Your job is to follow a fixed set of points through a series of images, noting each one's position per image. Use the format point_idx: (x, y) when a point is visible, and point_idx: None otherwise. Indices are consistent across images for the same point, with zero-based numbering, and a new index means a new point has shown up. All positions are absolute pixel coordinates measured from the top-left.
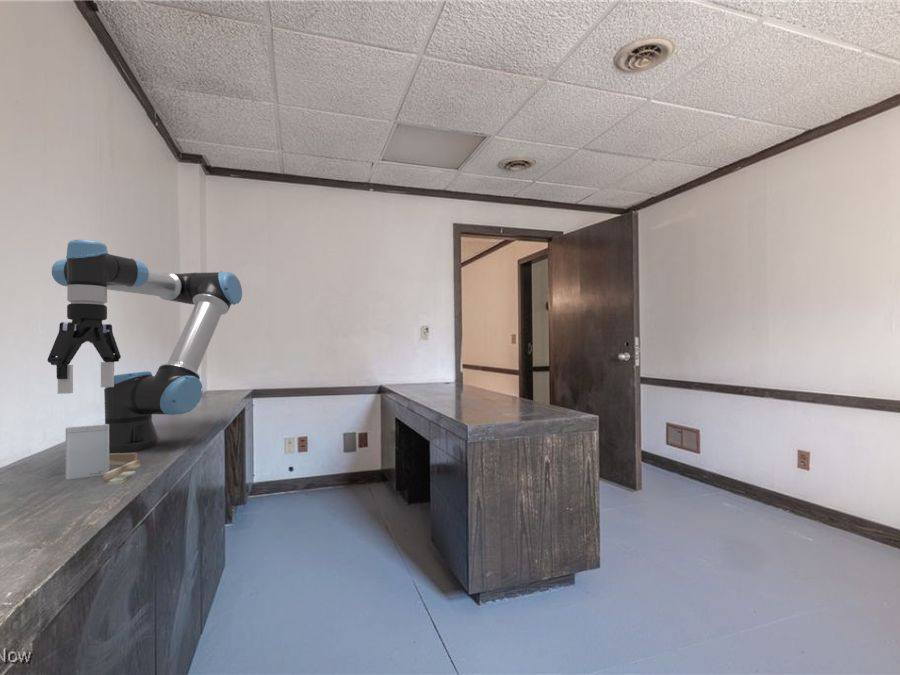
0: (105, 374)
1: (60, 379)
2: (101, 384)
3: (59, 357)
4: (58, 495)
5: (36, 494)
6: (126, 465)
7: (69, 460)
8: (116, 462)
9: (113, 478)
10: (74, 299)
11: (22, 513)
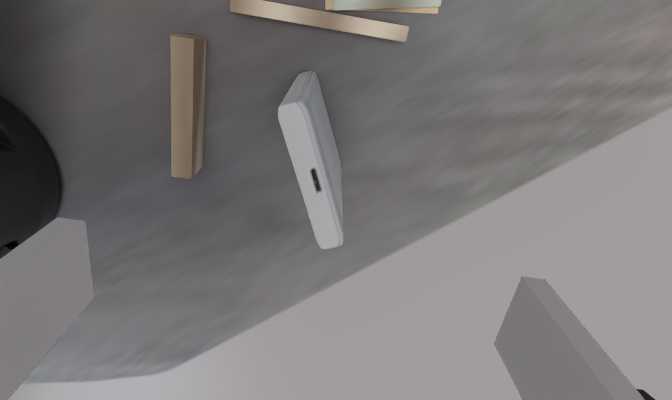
0: (9, 351)
1: None
2: (80, 309)
3: None
4: (492, 106)
5: (457, 168)
6: (312, 10)
7: (340, 180)
8: (202, 98)
9: (412, 6)
10: None
11: (614, 112)
